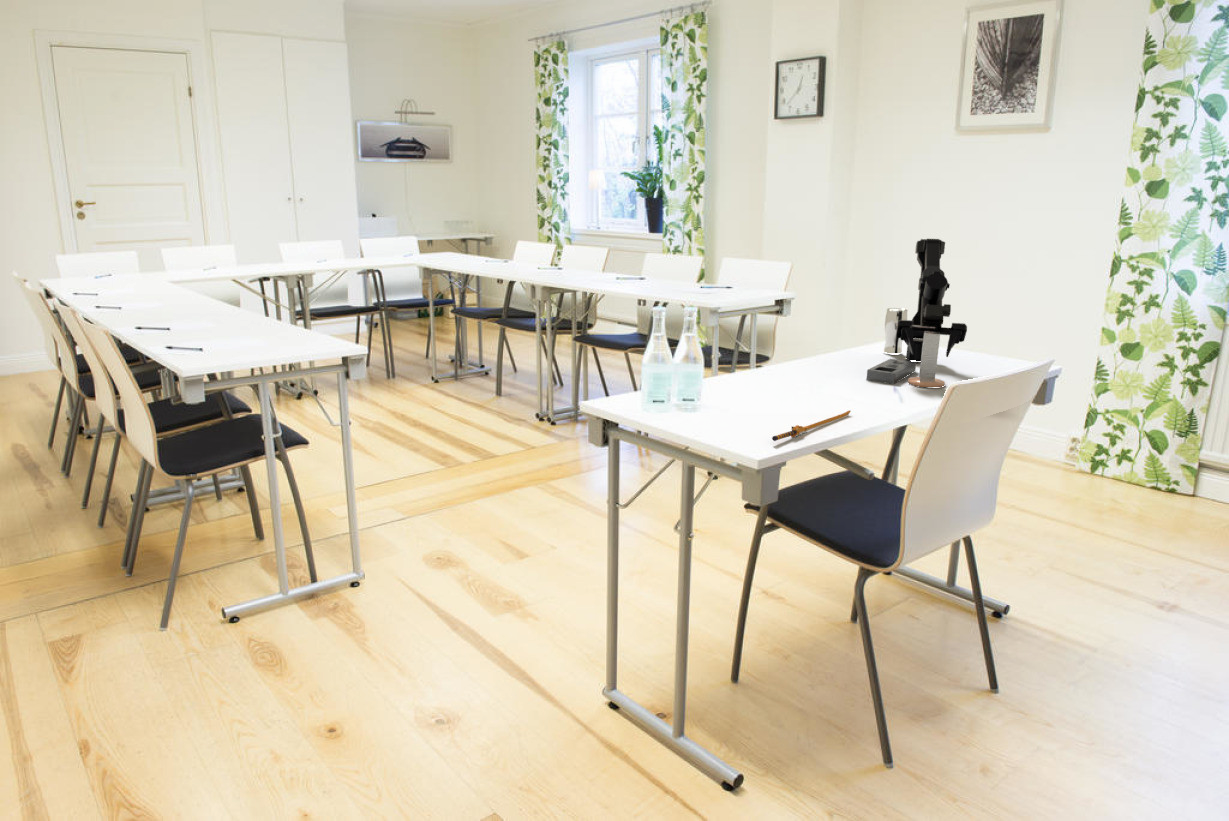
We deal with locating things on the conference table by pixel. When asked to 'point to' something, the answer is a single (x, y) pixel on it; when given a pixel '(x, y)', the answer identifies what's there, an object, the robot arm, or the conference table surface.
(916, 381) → the terracotta coaster
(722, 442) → the conference table surface
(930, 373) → the steel peg
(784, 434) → the katana
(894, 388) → the conference table surface
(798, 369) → the conference table surface
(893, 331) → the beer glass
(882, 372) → the rack rail
